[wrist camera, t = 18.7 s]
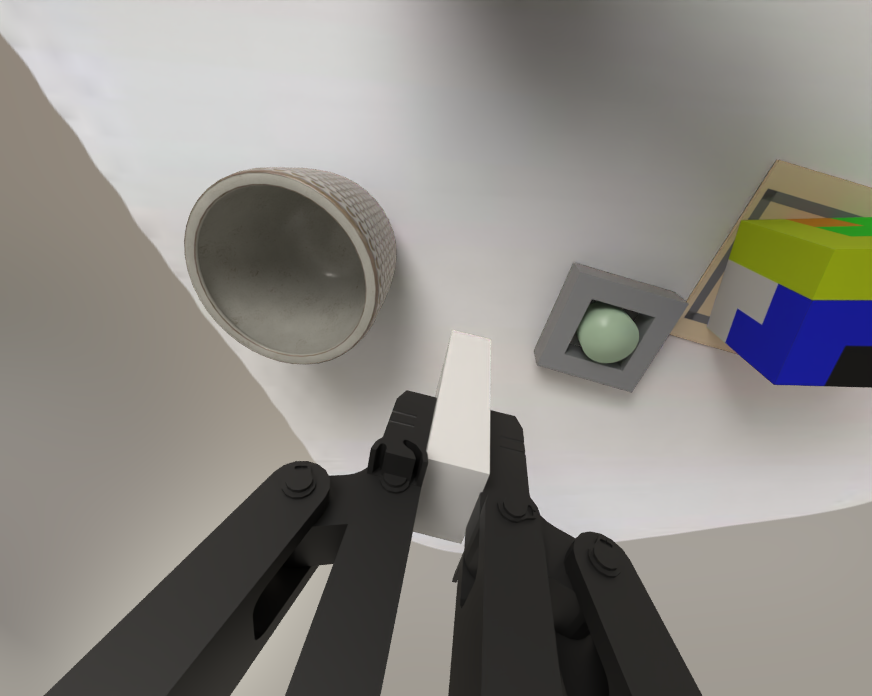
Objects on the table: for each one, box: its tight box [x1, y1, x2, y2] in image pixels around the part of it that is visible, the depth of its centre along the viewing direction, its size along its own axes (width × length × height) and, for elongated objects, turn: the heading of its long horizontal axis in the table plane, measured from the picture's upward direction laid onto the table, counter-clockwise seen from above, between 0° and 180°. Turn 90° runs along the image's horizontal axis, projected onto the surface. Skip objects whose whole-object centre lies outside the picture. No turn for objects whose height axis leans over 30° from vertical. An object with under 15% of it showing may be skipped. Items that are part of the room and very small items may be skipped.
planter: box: [184, 167, 396, 364], centre depth 32 cm, size 14×14×13 cm
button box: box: [534, 263, 689, 392], centre depth 37 cm, size 10×10×3 cm
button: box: [575, 301, 639, 363], centre depth 37 cm, size 5×5×4 cm
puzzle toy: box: [707, 217, 872, 387], centre depth 30 cm, size 10×10×10 cm
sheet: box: [670, 160, 872, 355], centre depth 34 cm, size 16×13×1 cm
